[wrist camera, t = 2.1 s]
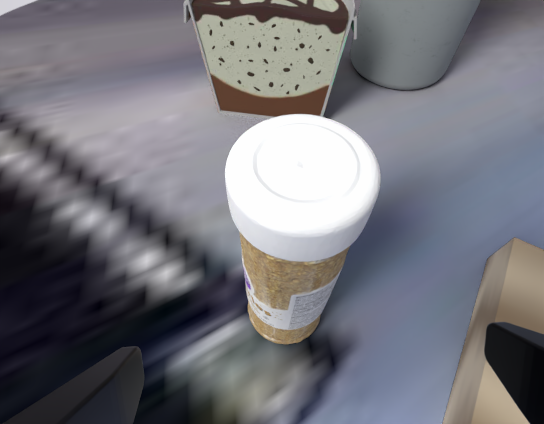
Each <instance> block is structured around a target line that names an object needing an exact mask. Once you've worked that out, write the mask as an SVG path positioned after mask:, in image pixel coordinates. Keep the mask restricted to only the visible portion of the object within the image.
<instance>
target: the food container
mask: <svg viewBox="0 0 544 424" xmlns="http://www.w3.org/2000/svg"><path fill="white" fill-rule="evenodd" d="M190 18H192V22H193V25H194V29H195V32H196V36H197V39H198V43H199V46H200V50H201V53H202V57H203V60H204V64H205V67H206V71H207V75H208V78H209V82H210V85H211V89H212V92H213V96H214V99H215V103H216V106H217V110H218V113H222V114H230V115H238V116H247V117H255V118H263V119H271V118H274V117H278V116H282V115H290V114H309V115H316V116H321V117H323V115H324V111H325V108H326V105H327V102H328V98H329V95H330V92H331V88H332V85H333V82H334V79H335V75H336V72H337V69H338V65H339V62H340V59H341V56H342V52H343V49H344V46H345V42H346V39H347V36H348V32H349V29H350V26H351V27H352V30H353V33H354V39H357V15H356V10H355V3H354V0H185V1H184V23H187V22H188V20H189V19H190Z"/></svg>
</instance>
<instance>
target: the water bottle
mask: <svg viewBox="0 0 544 424" xmlns="http://www.w3.org/2000/svg"><path fill="white" fill-rule="evenodd" d="M480 1H481V0H361V2H360V7H359V12H358V16H357V39H354V36H353V40H352V45H351V50H350V57H351V61H352V64H353V66H354V68H355V69H356V70H357V71H358V73H359V74H361V75H362V76H363V77H364V78H366V79H367V80H369V81H371V82H373V83H375V84H378V85H380V86H383V87H387V88H391V89H398V90H412V89H420V88H424V87H427V86H429V85H431V84H433V83H435V82H436V81H438V80H439V79H440V78H441V77H442V76H443V75H444V73H445V72H446V71H447V69H448V67H449V64H450V62H451V60H452V58H453V56H454V54H455V52H456V50H457V48H458V46H459V44H460V42H461V40H462V38H463V36H464V34H465V32H466V30H467V28H468V25H469V23H470V21H471V19H472V17H473V15H474V13H475V11H476V9H477V7H478V5H479V3H480Z"/></svg>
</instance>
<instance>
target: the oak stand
mask: <svg viewBox="0 0 544 424" xmlns="http://www.w3.org/2000/svg"><path fill="white" fill-rule="evenodd" d="M493 322H508V323H511V324H514V325H517V326H520V327H523V328H526V329H529V330H532V331H535V332H538V333H541V334H544V250H543V249H541V248H538V247H536V246H534V245H531V244H529V243H527V242H524V241H522V240H520V239H517V238H515V237H514V238H513V239H512V240H510V241H509V242H508V243H507V244H505V245H504V246H503V247H502V248H500V249H499V250H498V251H497V252H495V253H494V254H493V255H492V256H490V257H489V258H488V259H487V262H486V266H485V269H484V273H483V277H482V280H481V284H480V288H479V291H478V295H477V299H476V302H475V306H474V310H473V313H472V317H471V321H470V324H469V328H468V332H467V335H466V339H465V343H464V346H463V350H462V354H461V357H460V361H459V365H458V368H457V372H456V376H455V379H454V383H453V387H452V390H451V394H450V398H449V401H448V405H447V409H446V412H445V416H444V420H443V423H442V424H530V423H529V422H528V421H527V419H526V418H525V417H524V415H523V414H522V412H521V411H520V410H519V408H518V407H517V405H516V404H515V402H514V401H513V399H512V398H511V396H510V395H509V393H508V392H507V390H506V389H505V387H504V386H503V384H502V383H501V381H500V380H499V378H498V377H497V375H496V374H495V372H494V371H493V369H492V368H491V366H490V365H489V363H488V362H487V360H486V358H485V354H484V346H485V336H486V328H487V325H488V324H489V323H493Z"/></svg>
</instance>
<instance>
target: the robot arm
mask: <svg viewBox="0 0 544 424" xmlns="http://www.w3.org/2000/svg"><path fill="white" fill-rule="evenodd" d="M484 354H485V358H486V360H487V362H488V363H489V365H490V366H491V368H492V369H493V371H494V372H495V374H496V375H497V377H498V378H499V380H500V381H501V383H502V384H503V386H504V387H505V389H506V390H507V392H508V393H509V395H510V396H511V398H512V399H513V401H514V402H515V404H516V405H517V407H518V408H519V410H520V411H521V412H522V414H523V415H524V417H525V418H526V419H527V421H528V422H529V423H530V424H544V334H541V333H538V332H535V331H532V330H529V329H526V328H523V327H520V326H517V325H514V324H511V323H508V322H493V323H489V324H488V325H487V328H486V336H485V346H484ZM143 384H144V371H143V364H142V357H141V351H140V349H139V348H138V347H123V348H120V349H119V350H117V351H116V352H114V353H112V354H111V355H109V356H108V357H106V358H105V359H103V360H102V361H100V362H98V363H97V364H95V365H94V366H92V367H91V368H89V369H87V370H86V371H84V372H83V373H81V374H80V375H78V376H76V377H75V378H73V379H72V380H70V381H69V382H67V383H66V384H64V385H62V386H61V387H59V388H58V389H56V390H55V391H53V392H51V393H50V394H48V395H47V396H45V397H44V398H42V399H40V400H39V401H37V402H36V403H34V404H33V405H31V406H29V407H28V408H26V409H25V410H23V411H22V412H20V413H19V414H17V415H15V416H14V417H12V418H11V419H9V420H8V421H6V422H4V423H3V424H133V421H134V417H135V414H136V410H137V407H138V403H139V399H140V396H141V392H142V388H143Z"/></svg>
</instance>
